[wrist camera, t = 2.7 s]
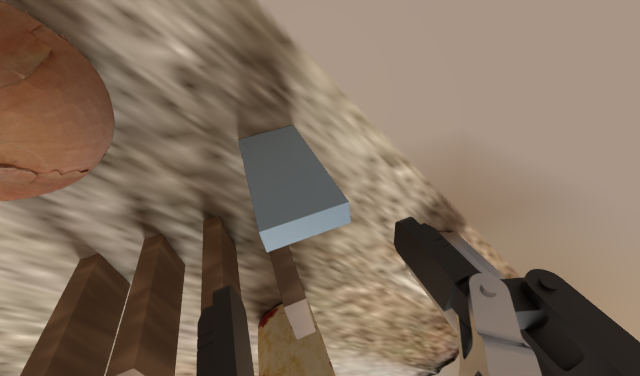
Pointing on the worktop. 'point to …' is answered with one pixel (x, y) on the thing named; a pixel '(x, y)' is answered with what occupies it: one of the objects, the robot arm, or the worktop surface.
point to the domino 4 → (290, 188)
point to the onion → (47, 109)
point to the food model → (290, 348)
